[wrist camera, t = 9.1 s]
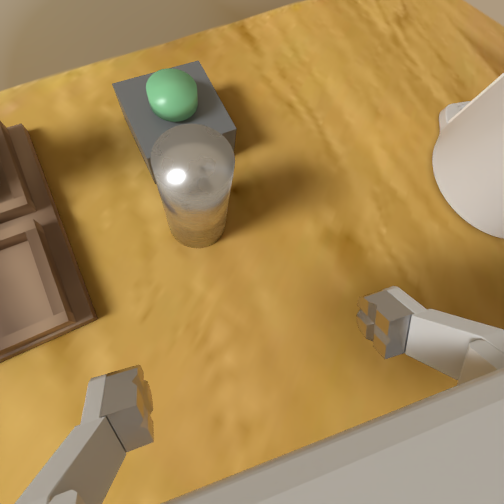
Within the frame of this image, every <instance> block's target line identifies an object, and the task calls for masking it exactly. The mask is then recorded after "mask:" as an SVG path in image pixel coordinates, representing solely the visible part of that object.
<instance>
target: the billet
mask: <svg viewBox="0 0 504 504" xmlns="http://www.w3.org/2000/svg"><path fill="white" fill-rule="evenodd" d="M234 165H235V157H234V152H233V149H232V147H231V145H230V144H229V142H228V141H227V139H226V138H225V137H224V136H223V135H222V134H220V133H219V132H218V131H216V130H214V129H212V128H210V127H208V126H204V125H200V124H182V125H178V126H175V127H173V128H170V129H169V130H167V131H165V132H164V133H163V134H162V135H161V136H160V137H159V138H158V139H157V140H156V142H155V144H154V145H153V148H152V151H151V166H152V170H153V173H154V176H155V180H156V183H157V186H158V190H159V193H160V197H161V200H162V203H163V207H164V210H165V213H166V217H167V220H168V224H169V227H170V230H171V233H172V234H173V236H174V237H175V239H176V240H177V241H179V242H180V243H181V244H183V245H185V246H188V247H191V248H203V247H207V246H210V245H212V244H213V243H215V242H216V241H217V240H218V239H219V238H220V237H221V235H222V234H223V231H224V228H225V223H226V216H227V210H228V204H229V197H230V191H231V185H232V179H233V172H234Z"/></svg>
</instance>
